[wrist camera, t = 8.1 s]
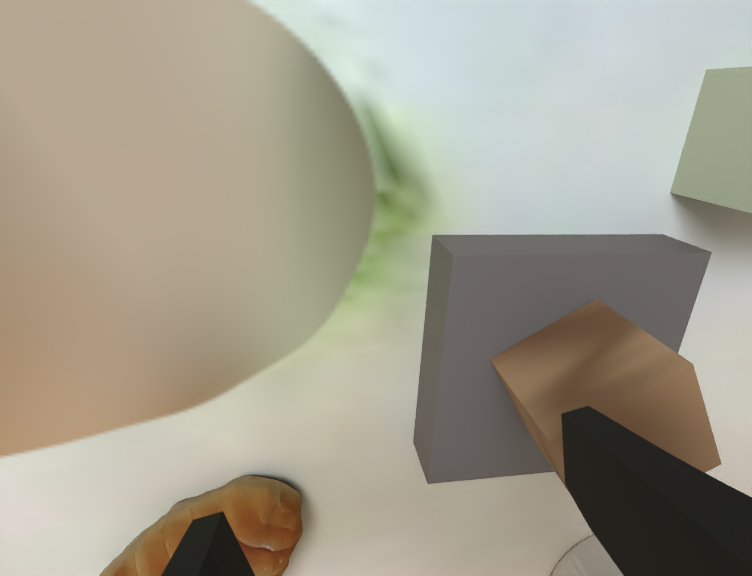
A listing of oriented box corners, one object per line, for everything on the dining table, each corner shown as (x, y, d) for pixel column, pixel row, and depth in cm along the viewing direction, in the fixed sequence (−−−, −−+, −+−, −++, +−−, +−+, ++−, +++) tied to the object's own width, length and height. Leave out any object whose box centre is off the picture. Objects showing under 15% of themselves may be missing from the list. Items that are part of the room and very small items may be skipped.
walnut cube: (596, 298, 17) (693, 364, 13) (628, 383, 19) (721, 464, 14) (489, 358, 17) (549, 441, 13) (530, 435, 19) (595, 530, 15)
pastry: (224, 434, 20) (209, 507, 16) (338, 500, 22) (347, 575, 19) (96, 564, 21) (58, 655, 18) (217, 611, 24) (204, 699, 20)
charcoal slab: (653, 231, 20) (711, 252, 17) (600, 420, 23) (641, 462, 21) (429, 231, 18) (453, 255, 15) (411, 435, 22) (427, 483, 19)
